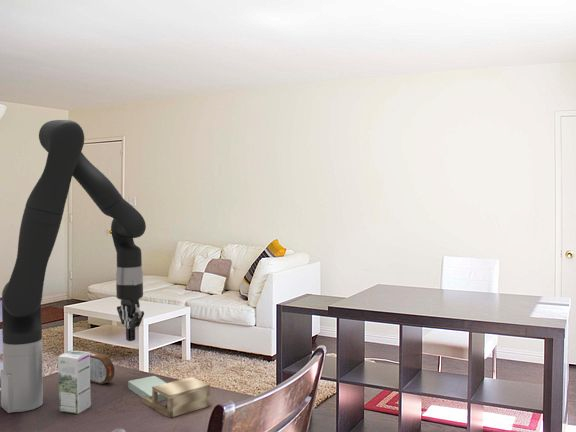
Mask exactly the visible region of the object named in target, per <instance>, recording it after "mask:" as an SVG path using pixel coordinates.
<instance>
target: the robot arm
mask: <svg viewBox="0 0 576 432" xmlns="http://www.w3.org/2000/svg"><path fill="white" fill-rule="evenodd" d="M38 140H39V143H40V145H41V147H42V148H43V149H44V150H45V151H46V152H47V156H46V162H45V166H44V168H43V172H42V173H41V175H40V177H39V179H38V181H37V182H36V184H35V185H34V187H33V188H32V190H31V192H30V194H29V196H28V197H27V200H26V203H25V207H24V210H23V214H22V217H21V218H22V219H21V222H20V227H19V233H18V241H17V243H18V244H17V252H16V253H17V254H16V260H15V264H14V266H13V268H12V272H11V275H10V278H9V281H8V282H7V283H6V284H5V285H4V287H3V289H2V292H1V314H2V315H1V316H2V317H1V319H2V323H1V330H2V332H1V333H2V370H0V407H1V408H2V409H3V410H4V411H6V413H8V414H11V413H22V412H23V413H24V412H28V411H31V410H36V409H38V408H39V407H42V405H43V404H44V400H43V397H44V393H43V391H44V389H43V388H44V387H43V328H42V301H43V292H44V285H45V284H44V283H45V277H46V272H47V267H48V263H49V260H50V258H51V255H52V251H53V249H54V247H55V243H56V240H57V237H58V234H59V231H60V227H61V223H62V220H63V215H64V212H65V207H66V203H67V199H68V195H69V191H70V186H71V182H72V178H74V179H75V180H76V182H78V183H79V185H80V186H81V188H83V189H84V191H85V192H86V193H87V195H88V196H89V197H90V199H91V200H92V201H93V203H94V204H95V205H96V206H97V208H98V209H99V210H100V211H101V213H103V214H104V215H105V216H108V217H109V218H112V221H111V225H110V233H111V238H112V240H113V245H114V249H115V252H116V273H115V281H116V283H115V284H116V285H115V291H116V294H115V297H116V298H117V299H118V300H120V305H119V306H117V307H116V311H117V314H118V316H119V319H120V322H121V324H122V326H123V325H124V329H125V341H128V342H134V341H135V340H136V328H137V327H138V328H139V327H140V325H141V323H142V321H143V318H144V315H145V312H144V311H143V310H142V311H141V309H140V308H141V306H140V305H141V304H140V301H139V300H140V299H142V298H143V297H144V278H143V277H144V275H143V273H144V272H143V264H142V259H143V258H142V249H141V248H140V247H139V246H138V245H136V244H135V241H134V239H137V238H139V237H142V236H143V235H144V234H145V231H146V229H147V226H146V225H147V224H146V221H145V219H144V216H143V215H142V214H141V213H140V212H139V211H138V210H137V208H135V207H134V206H133V205H132V204H131V203H129V202H128V201H127V200H126V199H125V198H124V197H123V196H122V194H121V193H120V192H119V191H118V189H117V187H115V184H113V183H112V181H111V180H110V179H109V178H108V177H107V176H106V175H105V174H104V172H101V170H99V169H98V168H97V167H96V166H95V165H94V164H93V163H92V162H91V161H90V160H89V159H88V158H87V157H86V156H85V154H84V153H83V147H84V145H85V134H84V130H83V128H82V126H81V125H80V124H79V123H78V122H76V121H73V120H70V119H55V120H50V121H47V122H44V124H43V125H41V126H40V129H39V131H38Z"/></svg>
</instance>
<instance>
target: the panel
mask: <svg viewBox="0 0 576 432" xmlns="http://www.w3.org/2000/svg"><path fill="white" fill-rule="evenodd" d="M166 383H167V382H166V381H165V380H163V379H160V378H159V377H157V376H156V375H152V376H147V377H146V376H145V377H142V378H137V379H132V380H131V379H130V380H128V381H127V385H128V386H127V388H128V389H129V390H131V392H133V393H135V394H136V395H137V394H138V396H139V397H141V399H143V397H148V398H150V399H152V387H154V386H158V385H162V384H166ZM159 401H160V402H162V401H167V397H165V396H163V395H161V394H159V393H158V403H160V402H159Z"/></svg>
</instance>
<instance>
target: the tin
mask: <svg viewBox="0 0 576 432" xmlns="http://www.w3.org/2000/svg"><path fill="white" fill-rule="evenodd" d="M82 352H90V383H91V382H92V383H94V384H97V385H104V384H106V383H109V382H111V381H113V379H114V377H115V367H114V363H113V361H112V359H111V358H110V357H109V356H108V355H107V354H104V353H100V352H96V351H92V350H89V349H88V350H84V351H82Z"/></svg>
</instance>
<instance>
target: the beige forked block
mask: <svg viewBox="0 0 576 432" xmlns="http://www.w3.org/2000/svg"><path fill="white" fill-rule="evenodd" d="M158 393H159V394H161V395H163V396H165V397H167V400H166V402H167V404H166V405H167V406H165V405H163V404H160V402H158ZM210 401H211V385H210V383H207V382H204V381H202V380H200V379H197V378H196V377H193V376H191V377H186V378H182V379H178V380H174V381H170V382H166V384H162V385H158V386H154V387H152V399H150V398H148V397H143V398H142V403H143V404H144V405H145V406H148V407H149V408H151V409H153V410H154V409H155V410H154V411H156V412H158V413H160V414H161V415H163V416H165V417H167V418H169V419H171V418H173V417H177V416H180V415H181V416H182V415H185V414H188V413H190V412H193V411H194V412H195V411H197V410H201V409H204V408H208V407H210V406H211V402H210Z"/></svg>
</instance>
